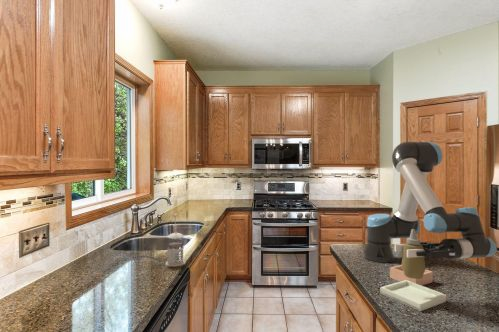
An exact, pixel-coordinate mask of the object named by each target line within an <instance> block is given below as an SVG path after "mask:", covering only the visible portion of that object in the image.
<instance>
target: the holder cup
mask: <svg viewBox="0 0 499 332" xmlns="http://www.w3.org/2000/svg"><path fill="white" fill-rule="evenodd" d="M389 278H390V279H392V280H395V281H398V282H400V281H404V280H408V281H410V282H413V283H416V284H418V285H421V286H425V285H428V284H431V283H433V282H434V271H431V270H429V269H427V268H425V272H424V274H423V277H422V278H421V279H413V278H409V277H406V276H405V274H404V271H403V268H402V264H400V265H399V264H398V265H395V266H391V267H389Z"/></svg>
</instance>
